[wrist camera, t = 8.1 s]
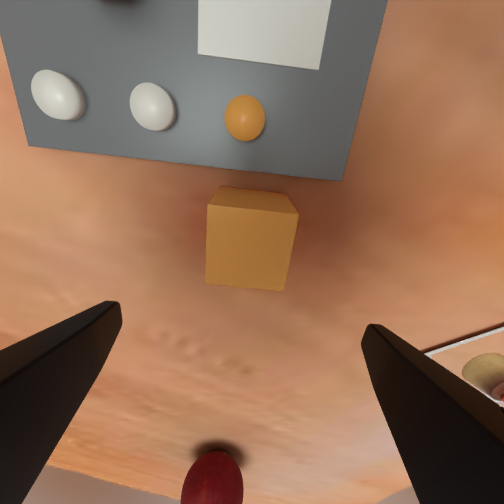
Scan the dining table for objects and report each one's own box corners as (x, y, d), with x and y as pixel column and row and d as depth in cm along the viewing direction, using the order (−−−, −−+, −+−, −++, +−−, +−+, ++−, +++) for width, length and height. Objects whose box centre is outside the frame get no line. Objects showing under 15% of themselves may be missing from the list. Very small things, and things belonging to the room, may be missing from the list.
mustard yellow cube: (285, 193, 19) (299, 214, 13) (275, 251, 21) (283, 291, 15) (220, 186, 18) (207, 204, 13) (217, 245, 20) (204, 283, 15)
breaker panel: (403, -105, 12) (437, -162, 10) (334, 178, 18) (346, 183, 16) (-27, -177, 11) (-97, -257, 9) (46, 145, 17) (14, 146, 15)
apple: (249, 440, 32) (247, 527, 25) (240, 472, 35) (237, 557, 28) (191, 434, 31) (173, 522, 24) (188, 467, 35) (171, 553, 27)
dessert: (434, 409, 30) (465, 454, 26) (412, 347, 26) (445, 388, 21) (540, 378, 28) (594, 422, 23) (537, 304, 23) (602, 341, 19)
